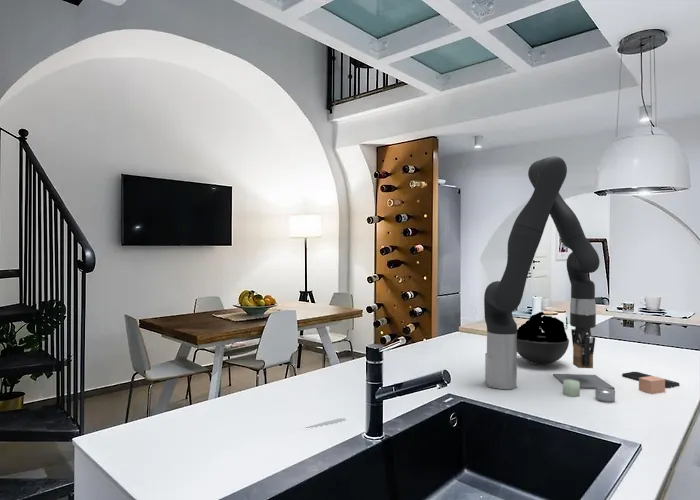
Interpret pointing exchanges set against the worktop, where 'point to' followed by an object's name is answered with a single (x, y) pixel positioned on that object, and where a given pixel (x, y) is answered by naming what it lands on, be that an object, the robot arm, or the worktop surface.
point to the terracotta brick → (652, 384)
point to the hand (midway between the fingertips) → (582, 363)
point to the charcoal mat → (585, 380)
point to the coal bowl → (542, 339)
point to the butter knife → (328, 422)
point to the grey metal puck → (605, 395)
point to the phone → (638, 375)
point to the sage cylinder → (571, 388)
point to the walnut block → (580, 357)
